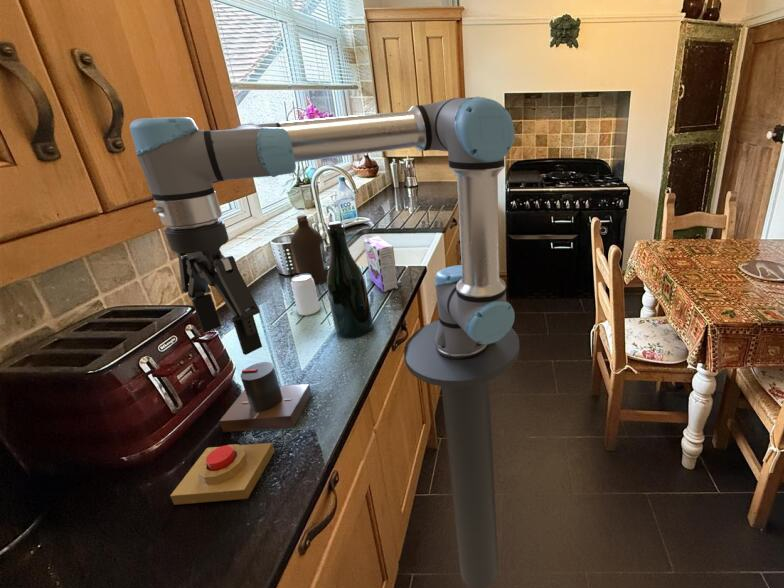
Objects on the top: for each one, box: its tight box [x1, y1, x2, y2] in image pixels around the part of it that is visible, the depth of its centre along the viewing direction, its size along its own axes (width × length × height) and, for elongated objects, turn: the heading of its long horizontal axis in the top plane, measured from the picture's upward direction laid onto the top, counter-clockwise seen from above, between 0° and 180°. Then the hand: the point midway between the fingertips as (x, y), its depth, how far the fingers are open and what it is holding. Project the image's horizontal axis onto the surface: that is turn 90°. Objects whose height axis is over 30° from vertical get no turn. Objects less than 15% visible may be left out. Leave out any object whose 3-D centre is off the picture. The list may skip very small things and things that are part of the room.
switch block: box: [169, 442, 275, 506], centre depth 72 cm, size 12×10×4 cm
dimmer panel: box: [218, 383, 313, 433], centre depth 87 cm, size 14×10×3 cm
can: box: [290, 273, 321, 317], centre depth 128 cm, size 6×6×12 cm
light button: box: [206, 444, 236, 471], centre depth 71 cm, size 4×4×2 cm
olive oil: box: [290, 214, 329, 285], centre depth 148 cm, size 11×11×25 cm
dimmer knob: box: [240, 361, 282, 411], centre depth 85 cm, size 6×6×8 cm
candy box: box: [363, 235, 399, 293], centre depth 145 cm, size 14×6×16 cm, turn 37°
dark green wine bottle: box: [326, 220, 374, 339], centre depth 113 cm, size 10×10×33 cm
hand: (231, 339), depth 70 cm, fingers open, 13 cm apart
